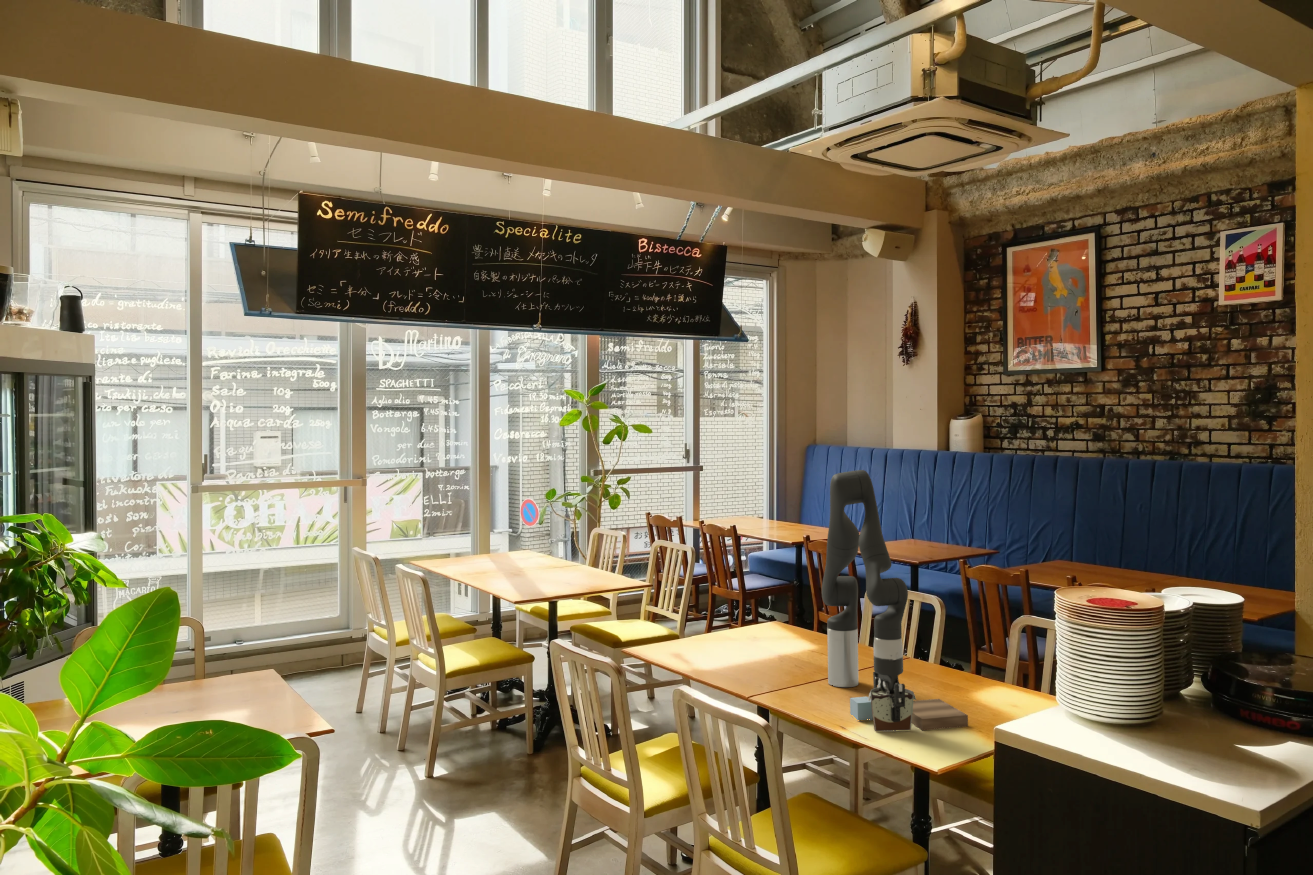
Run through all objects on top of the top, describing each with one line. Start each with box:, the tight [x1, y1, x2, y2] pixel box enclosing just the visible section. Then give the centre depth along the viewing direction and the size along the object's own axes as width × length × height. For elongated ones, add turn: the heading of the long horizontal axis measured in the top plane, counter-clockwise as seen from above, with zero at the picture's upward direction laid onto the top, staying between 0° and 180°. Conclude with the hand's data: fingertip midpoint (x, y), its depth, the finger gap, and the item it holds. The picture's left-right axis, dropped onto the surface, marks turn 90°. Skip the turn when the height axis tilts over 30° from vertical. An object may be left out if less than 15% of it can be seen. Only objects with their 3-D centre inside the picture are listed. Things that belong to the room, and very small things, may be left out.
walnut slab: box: [911, 698, 969, 731], centre depth 239 cm, size 15×13×3 cm
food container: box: [868, 686, 917, 732], centre depth 234 cm, size 12×6×10 cm, turn 92°
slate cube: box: [849, 696, 873, 721], centre depth 242 cm, size 5×5×5 cm
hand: (889, 716), depth 234 cm, fingers open, 7 cm apart
